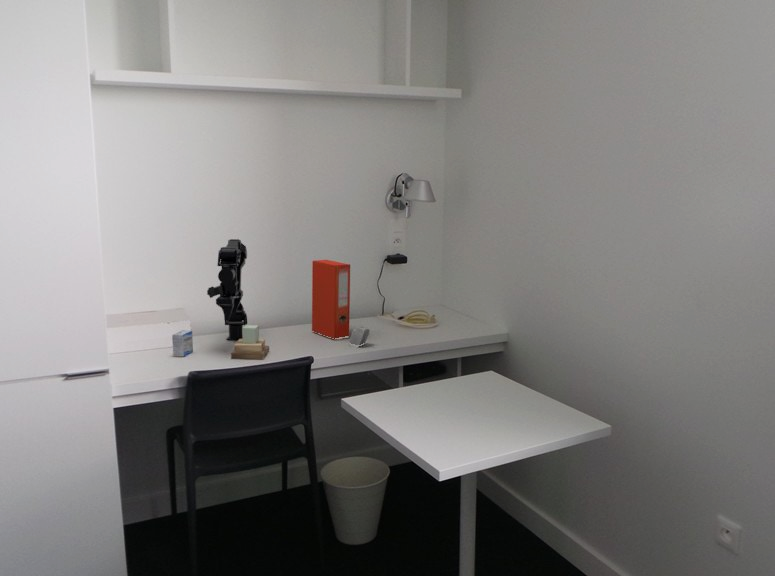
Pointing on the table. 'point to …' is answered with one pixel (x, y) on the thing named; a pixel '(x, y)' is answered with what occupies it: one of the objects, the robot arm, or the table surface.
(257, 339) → the sage block
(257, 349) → the oak slab
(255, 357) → the walnut slab
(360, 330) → the mineral specimen
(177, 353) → the medicine box
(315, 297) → the file binder
